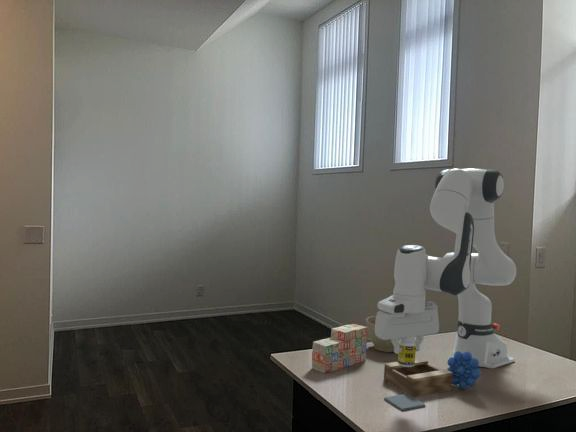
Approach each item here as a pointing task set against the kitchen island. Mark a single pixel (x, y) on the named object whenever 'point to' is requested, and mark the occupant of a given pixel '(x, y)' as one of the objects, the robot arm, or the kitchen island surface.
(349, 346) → the stack of blocks
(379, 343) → the planter bowl
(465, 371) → the grapes
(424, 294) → the robot arm
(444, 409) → the kitchen island surface
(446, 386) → the crate
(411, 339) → the supplement bottle
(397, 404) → the slate pad
